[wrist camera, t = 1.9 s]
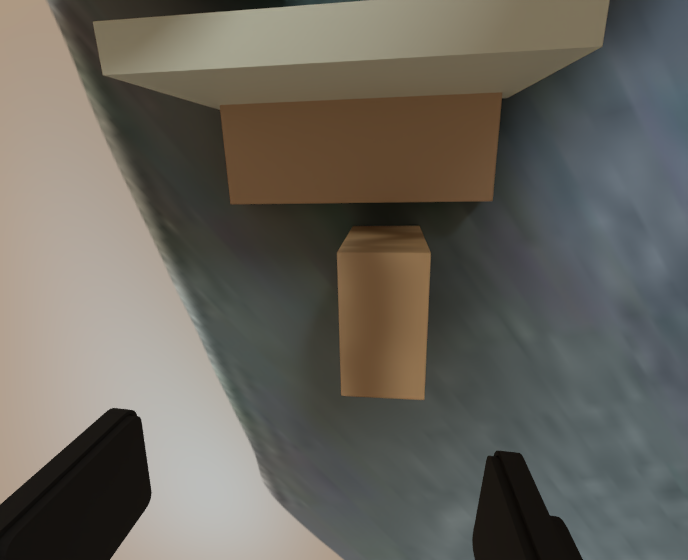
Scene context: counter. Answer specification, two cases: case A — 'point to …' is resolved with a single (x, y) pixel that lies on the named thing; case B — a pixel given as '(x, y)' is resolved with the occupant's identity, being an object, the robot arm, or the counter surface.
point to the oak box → (383, 311)
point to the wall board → (356, 89)
